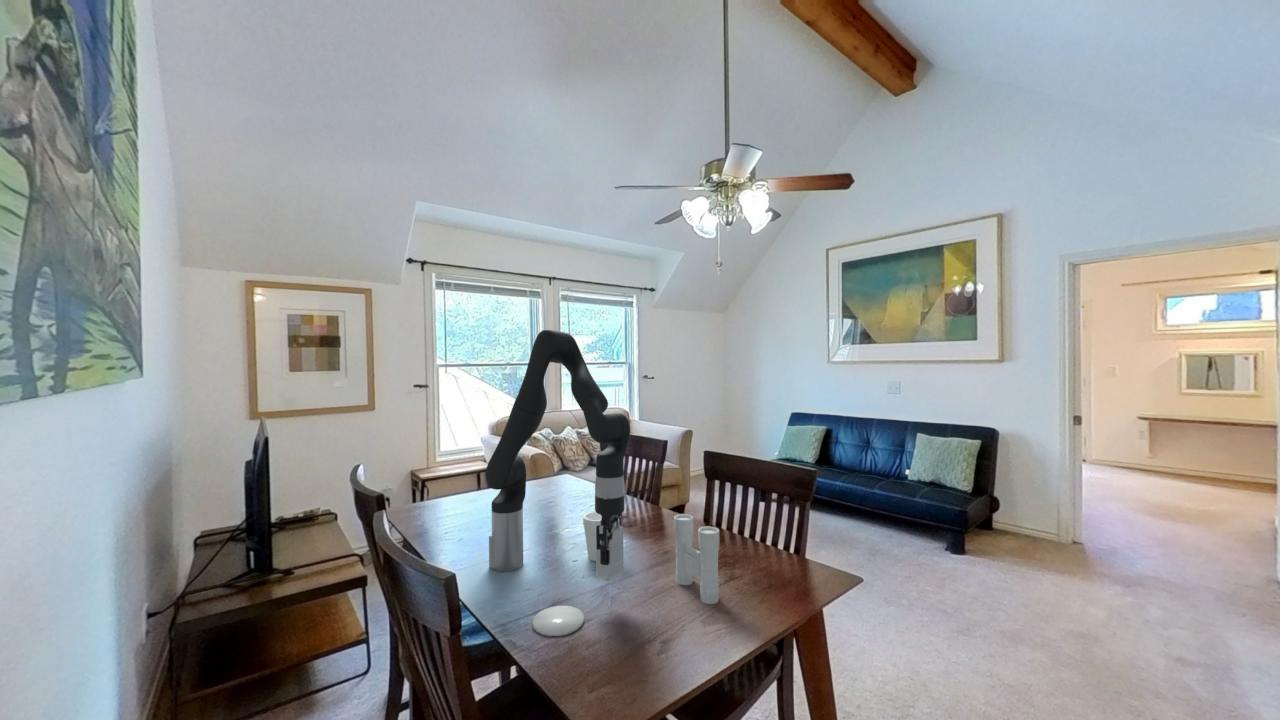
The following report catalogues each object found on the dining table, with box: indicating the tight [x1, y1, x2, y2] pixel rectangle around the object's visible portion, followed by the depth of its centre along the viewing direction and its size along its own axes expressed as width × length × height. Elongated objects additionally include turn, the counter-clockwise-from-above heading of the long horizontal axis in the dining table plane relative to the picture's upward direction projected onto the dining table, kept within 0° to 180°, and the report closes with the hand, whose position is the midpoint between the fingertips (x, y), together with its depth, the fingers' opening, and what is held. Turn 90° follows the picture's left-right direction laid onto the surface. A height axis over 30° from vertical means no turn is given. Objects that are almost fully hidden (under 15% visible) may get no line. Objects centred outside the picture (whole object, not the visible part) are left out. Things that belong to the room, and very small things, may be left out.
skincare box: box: [595, 526, 624, 582], centre depth 120 cm, size 6×4×12 cm
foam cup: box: [582, 511, 602, 562], centre depth 150 cm, size 10×9×13 cm
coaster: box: [532, 605, 585, 637], centre depth 113 cm, size 12×12×1 cm
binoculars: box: [673, 513, 720, 605], centre depth 128 cm, size 17×5×18 cm, turn 28°
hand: (609, 557), depth 120 cm, fingers closed on skincare box, 7 cm apart
